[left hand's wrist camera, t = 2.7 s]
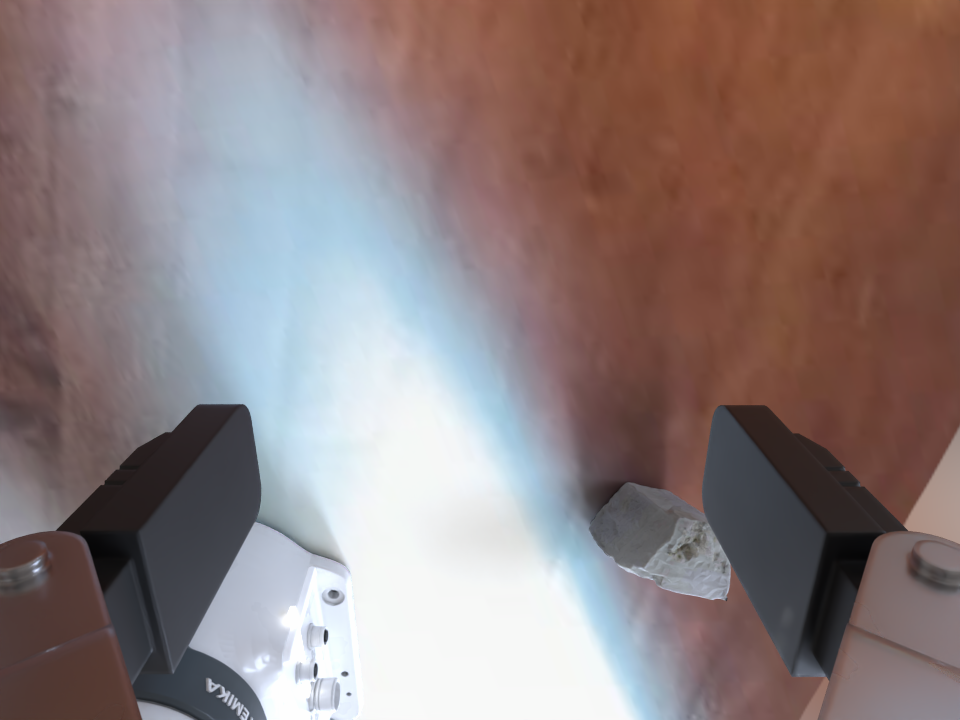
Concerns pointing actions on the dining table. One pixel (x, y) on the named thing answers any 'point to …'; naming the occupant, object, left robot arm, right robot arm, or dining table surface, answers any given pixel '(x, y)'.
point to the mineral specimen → (662, 541)
